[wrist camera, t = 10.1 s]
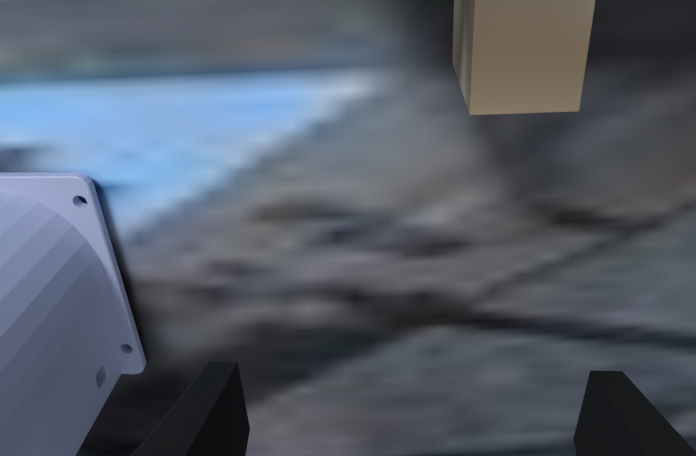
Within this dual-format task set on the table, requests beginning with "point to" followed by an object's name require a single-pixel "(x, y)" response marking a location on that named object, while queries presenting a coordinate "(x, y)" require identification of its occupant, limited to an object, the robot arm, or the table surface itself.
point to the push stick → (521, 54)
